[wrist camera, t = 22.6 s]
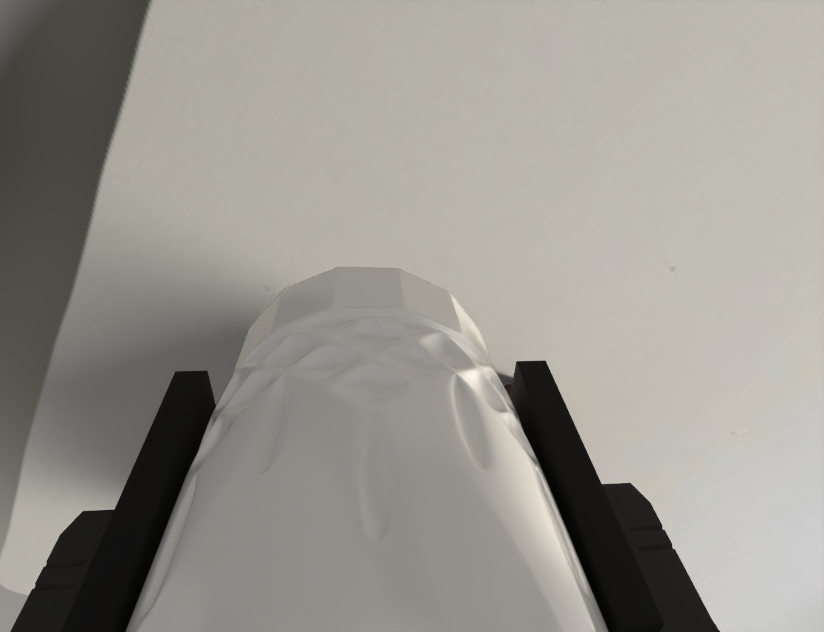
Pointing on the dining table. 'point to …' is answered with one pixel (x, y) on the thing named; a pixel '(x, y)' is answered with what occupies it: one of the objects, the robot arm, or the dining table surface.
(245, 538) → the white cup
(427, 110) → the dining table surface
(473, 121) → the dining table surface
